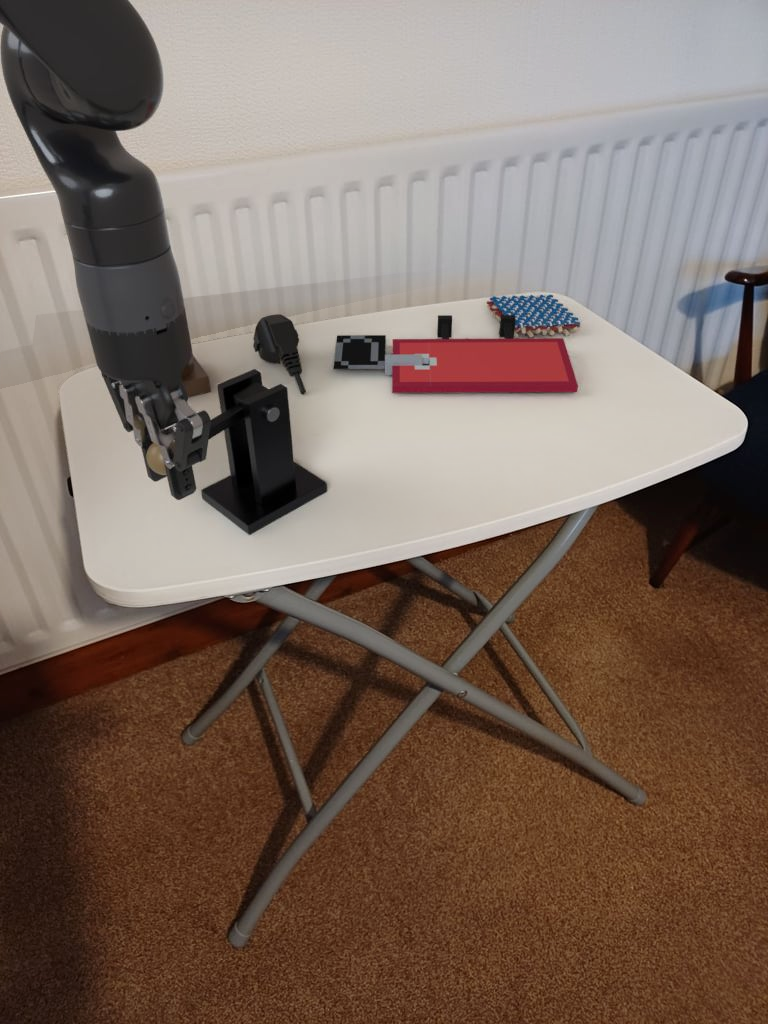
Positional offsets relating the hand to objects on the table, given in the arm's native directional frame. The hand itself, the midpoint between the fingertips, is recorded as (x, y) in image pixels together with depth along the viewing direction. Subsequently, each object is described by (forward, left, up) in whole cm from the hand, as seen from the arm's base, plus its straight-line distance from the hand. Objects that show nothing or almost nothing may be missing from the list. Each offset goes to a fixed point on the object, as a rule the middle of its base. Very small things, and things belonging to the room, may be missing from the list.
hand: (172, 484), depth 71 cm
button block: (+7, +30, -6) cm, 31 cm away
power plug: (+21, +25, -7) cm, 34 cm away
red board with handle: (+41, +17, -6) cm, 45 cm away
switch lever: (+5, +1, +2) cm, 5 cm away
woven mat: (+57, +22, -6) cm, 62 cm away
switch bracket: (+9, +3, -6) cm, 12 cm away
